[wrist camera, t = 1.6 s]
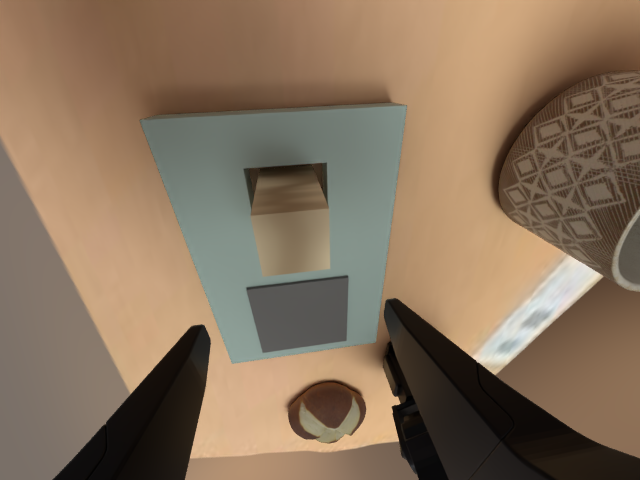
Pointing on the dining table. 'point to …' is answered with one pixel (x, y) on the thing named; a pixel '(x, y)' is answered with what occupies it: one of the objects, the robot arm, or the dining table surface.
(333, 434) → the bread
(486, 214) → the dining table surface
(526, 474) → the robot arm
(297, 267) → the maple block
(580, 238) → the planter
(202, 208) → the pocket board
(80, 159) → the dining table surface
